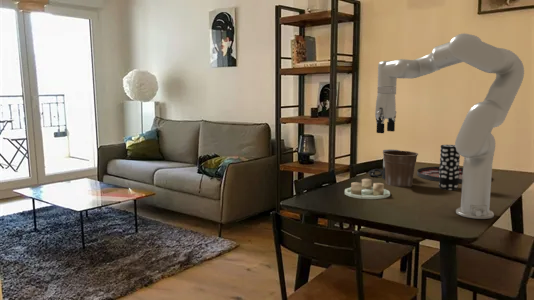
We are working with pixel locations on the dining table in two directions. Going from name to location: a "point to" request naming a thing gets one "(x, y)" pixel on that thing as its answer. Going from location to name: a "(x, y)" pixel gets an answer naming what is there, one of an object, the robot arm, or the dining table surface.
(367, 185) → the bead
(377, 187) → the brown egg
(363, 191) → the pale green faceted plate
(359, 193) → the tan egg
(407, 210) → the dining table surface
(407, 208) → the dining table surface
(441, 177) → the white-spotted black cylinder
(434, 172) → the palette wheel
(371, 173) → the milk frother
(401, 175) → the plant pot
